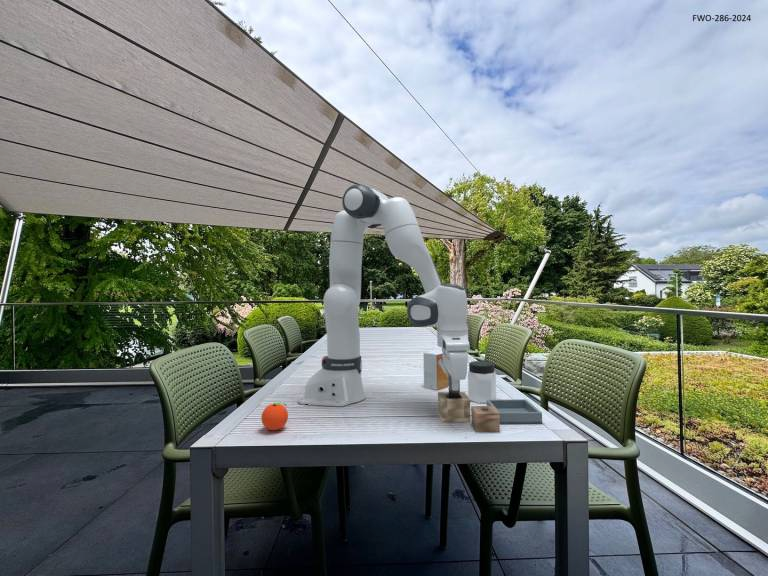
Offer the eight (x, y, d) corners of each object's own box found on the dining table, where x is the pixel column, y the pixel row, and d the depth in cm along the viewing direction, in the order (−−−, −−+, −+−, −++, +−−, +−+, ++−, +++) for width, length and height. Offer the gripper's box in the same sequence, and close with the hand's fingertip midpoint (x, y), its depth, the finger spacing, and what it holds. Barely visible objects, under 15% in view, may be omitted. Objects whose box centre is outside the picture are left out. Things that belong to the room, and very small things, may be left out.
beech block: (441, 422, 105) (441, 400, 105) (438, 412, 113) (437, 392, 113) (470, 421, 104) (470, 400, 104) (464, 412, 112) (464, 392, 112)
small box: (437, 390, 136) (436, 354, 135) (423, 387, 140) (422, 352, 140) (450, 386, 141) (449, 351, 141) (436, 383, 146) (436, 349, 146)
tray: (497, 424, 102) (497, 413, 102) (486, 409, 114) (486, 399, 114) (542, 423, 102) (542, 412, 102) (526, 409, 114) (526, 399, 114)
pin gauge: (449, 403, 107) (449, 372, 107) (448, 400, 110) (447, 369, 110) (461, 403, 107) (460, 371, 107) (459, 400, 110) (458, 369, 110)
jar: (501, 401, 122) (500, 364, 122) (481, 405, 118) (481, 367, 118) (482, 394, 130) (482, 359, 130) (463, 397, 127) (463, 362, 126)
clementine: (278, 421, 107) (277, 397, 107) (296, 426, 103) (296, 400, 103) (255, 431, 100) (255, 405, 100) (274, 436, 96) (274, 409, 96)
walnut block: (476, 433, 97) (475, 413, 97) (471, 424, 103) (471, 405, 103) (499, 432, 97) (499, 413, 97) (493, 424, 103) (493, 405, 103)
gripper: (437, 335, 119) (438, 378, 119) (446, 345, 98) (448, 398, 99) (457, 334, 119) (458, 378, 119) (471, 345, 98) (472, 398, 98)
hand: (453, 387), depth 109 cm, fingers closed on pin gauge, 3 cm apart
